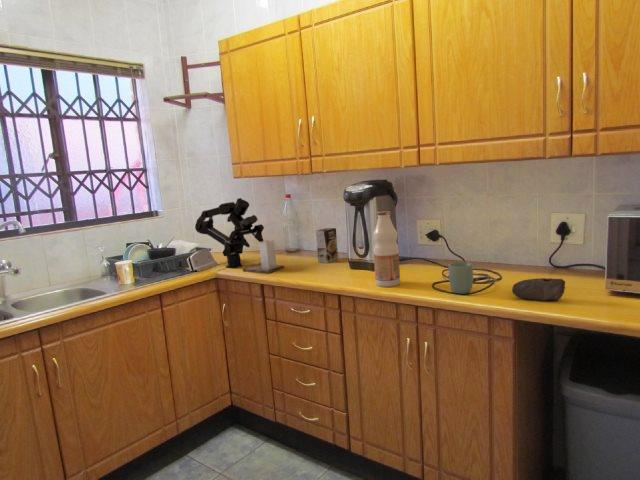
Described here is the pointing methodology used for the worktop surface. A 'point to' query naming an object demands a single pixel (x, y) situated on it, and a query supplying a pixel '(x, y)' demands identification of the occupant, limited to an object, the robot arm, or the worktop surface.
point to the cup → (461, 277)
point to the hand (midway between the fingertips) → (256, 245)
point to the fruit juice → (386, 252)
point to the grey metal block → (201, 261)
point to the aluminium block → (267, 254)
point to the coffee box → (327, 245)
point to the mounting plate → (259, 269)
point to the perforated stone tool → (539, 289)
